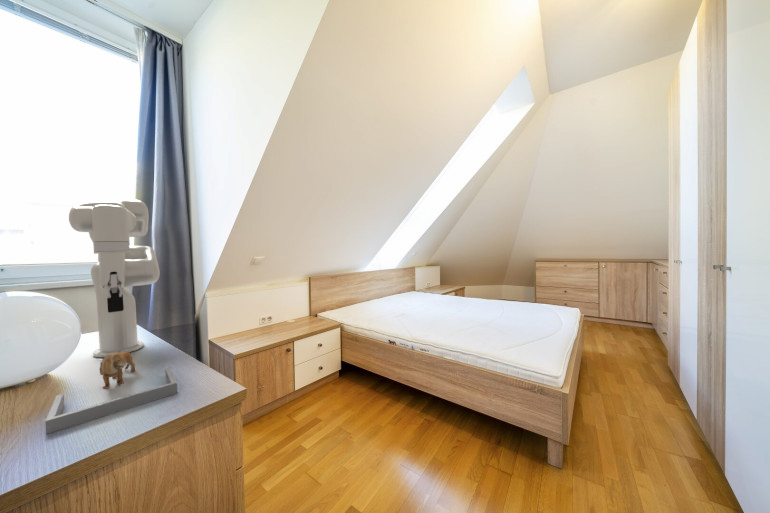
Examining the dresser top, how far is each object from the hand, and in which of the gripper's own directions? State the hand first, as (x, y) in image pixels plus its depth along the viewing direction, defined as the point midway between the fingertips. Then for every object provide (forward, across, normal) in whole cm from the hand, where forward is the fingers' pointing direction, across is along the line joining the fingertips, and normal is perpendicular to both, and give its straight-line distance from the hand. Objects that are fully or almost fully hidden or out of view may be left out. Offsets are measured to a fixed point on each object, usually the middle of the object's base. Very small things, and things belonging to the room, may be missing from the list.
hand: (116, 309), depth 80 cm
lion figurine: (+18, +12, 0) cm, 21 cm away
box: (+17, +24, 0) cm, 30 cm away
